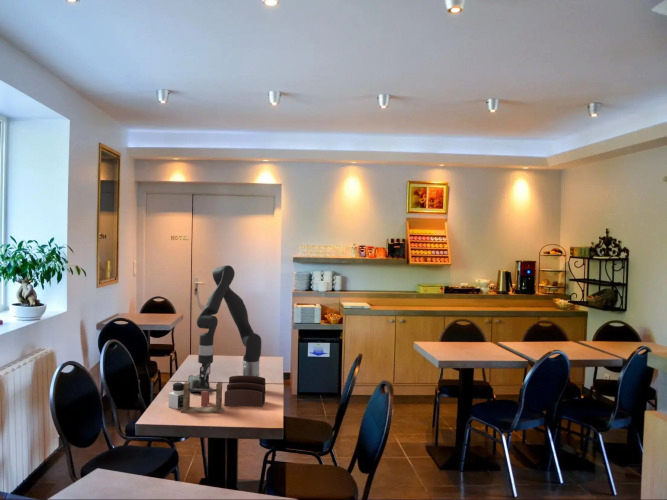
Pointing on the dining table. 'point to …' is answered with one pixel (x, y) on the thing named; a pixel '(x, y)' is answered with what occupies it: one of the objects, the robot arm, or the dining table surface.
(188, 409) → the rail stand
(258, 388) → the letter holder
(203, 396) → the pink u-shaped bracket
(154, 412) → the dining table surface
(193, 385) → the rock
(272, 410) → the dining table surface
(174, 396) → the medicine bottle
